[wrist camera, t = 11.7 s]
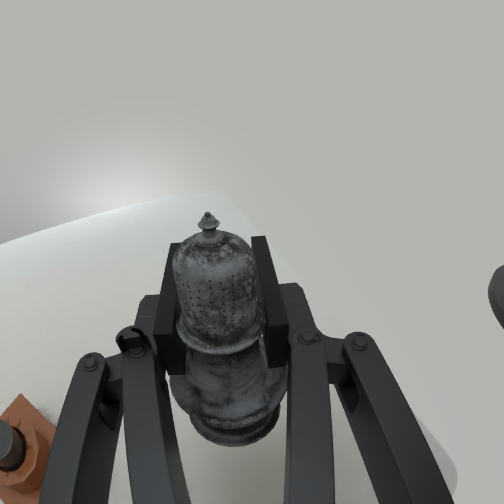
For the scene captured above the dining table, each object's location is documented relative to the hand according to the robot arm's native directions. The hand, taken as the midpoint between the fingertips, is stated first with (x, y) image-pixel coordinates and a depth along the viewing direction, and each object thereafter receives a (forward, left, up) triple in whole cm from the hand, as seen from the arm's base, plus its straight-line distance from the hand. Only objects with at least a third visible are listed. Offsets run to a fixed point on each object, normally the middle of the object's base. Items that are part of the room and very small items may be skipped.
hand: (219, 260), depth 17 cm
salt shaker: (-3, +5, -7) cm, 9 cm away
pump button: (+12, +17, -11) cm, 24 cm away
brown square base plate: (+12, +17, -15) cm, 26 cm away
